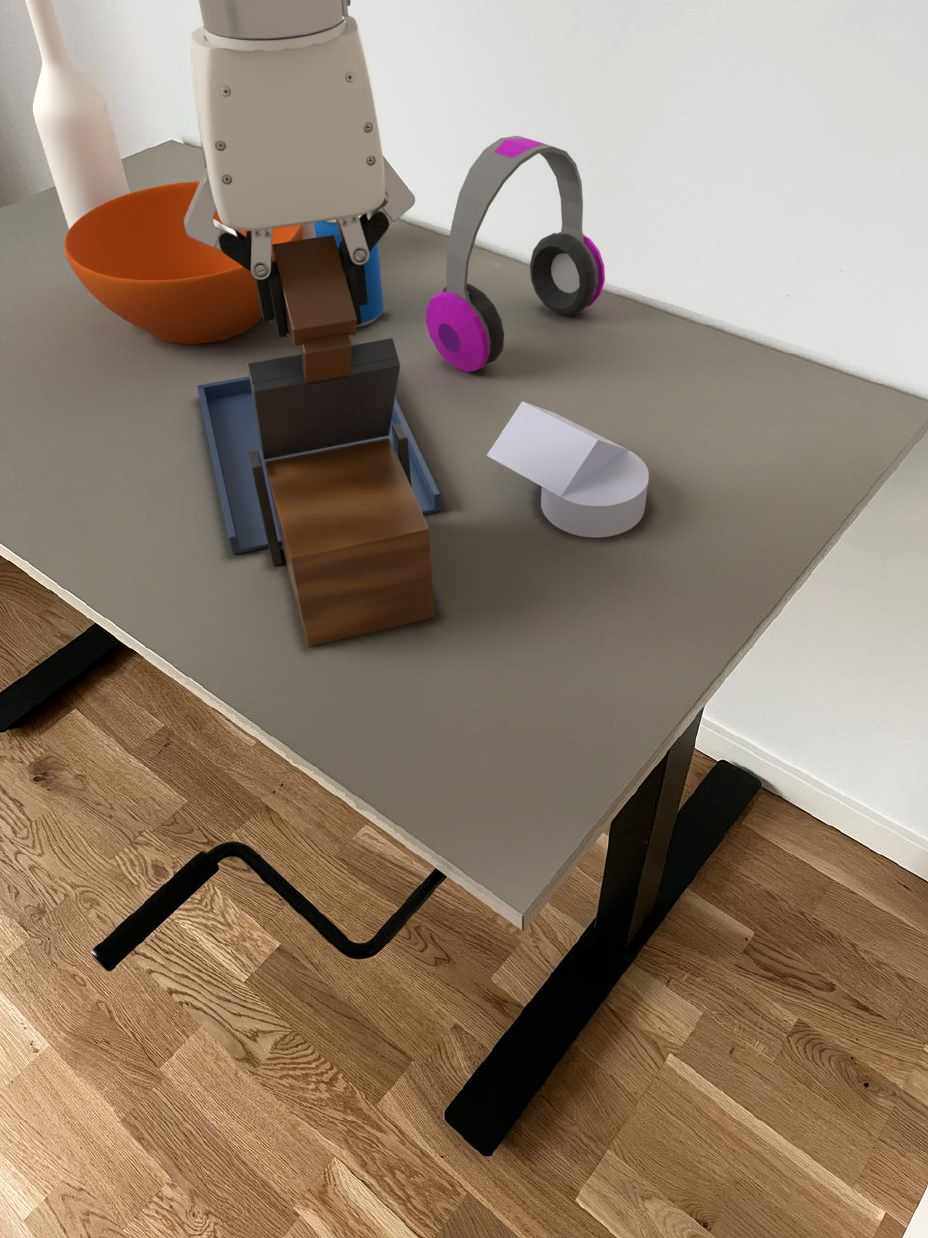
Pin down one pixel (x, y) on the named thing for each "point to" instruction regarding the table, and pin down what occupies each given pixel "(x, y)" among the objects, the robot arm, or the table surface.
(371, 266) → the beverage can
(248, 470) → the tray
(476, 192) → the headphones
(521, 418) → the wedge on round base
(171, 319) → the bowl
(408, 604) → the stand
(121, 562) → the table surface
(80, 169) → the bottle
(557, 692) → the table surface
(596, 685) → the table surface
